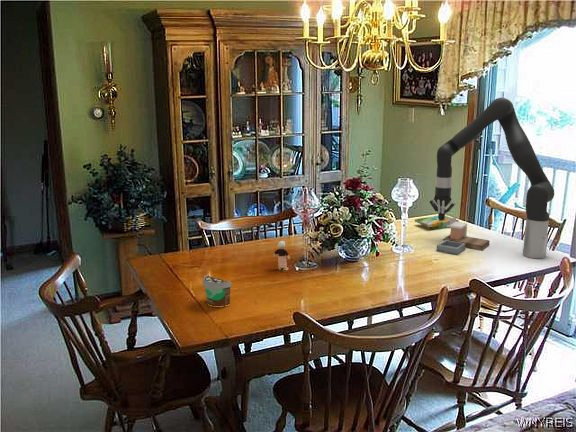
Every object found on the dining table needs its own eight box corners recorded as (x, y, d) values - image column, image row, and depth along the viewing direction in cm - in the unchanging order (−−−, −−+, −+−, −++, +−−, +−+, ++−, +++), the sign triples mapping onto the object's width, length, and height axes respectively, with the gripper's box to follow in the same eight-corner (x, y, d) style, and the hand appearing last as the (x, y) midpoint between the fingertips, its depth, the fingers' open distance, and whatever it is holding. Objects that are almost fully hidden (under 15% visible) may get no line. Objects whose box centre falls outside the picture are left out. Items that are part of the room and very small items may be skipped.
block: (462, 242, 272) (463, 226, 270) (458, 244, 268) (459, 228, 266) (453, 240, 275) (454, 225, 273) (449, 243, 271) (450, 227, 269)
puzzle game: (458, 218, 297) (428, 223, 290) (458, 227, 298) (427, 231, 291) (444, 213, 308) (414, 217, 300) (444, 221, 309) (414, 226, 301)
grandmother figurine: (291, 268, 239) (291, 240, 236) (289, 271, 236) (289, 243, 232) (274, 266, 241) (274, 239, 238) (272, 269, 238) (271, 241, 234)
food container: (196, 303, 204) (195, 278, 202) (208, 298, 209) (207, 273, 206) (220, 312, 197) (219, 286, 194) (232, 306, 202) (231, 280, 199)
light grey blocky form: (466, 236, 272) (467, 219, 270) (460, 240, 266) (461, 222, 263) (452, 234, 276) (453, 217, 274) (446, 238, 270) (447, 220, 268)
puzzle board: (489, 245, 267) (489, 240, 266) (482, 250, 259) (482, 245, 259) (451, 238, 278) (451, 233, 277) (443, 243, 270) (443, 238, 270)
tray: (465, 249, 261) (465, 243, 260) (457, 255, 253) (457, 249, 253) (444, 245, 267) (445, 239, 266) (436, 251, 259) (436, 245, 258)
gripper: (459, 186, 268) (457, 220, 273) (433, 183, 276) (431, 216, 280) (453, 188, 262) (451, 224, 267) (427, 185, 270) (425, 219, 275)
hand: (441, 220), depth 274 cm, fingers closed
